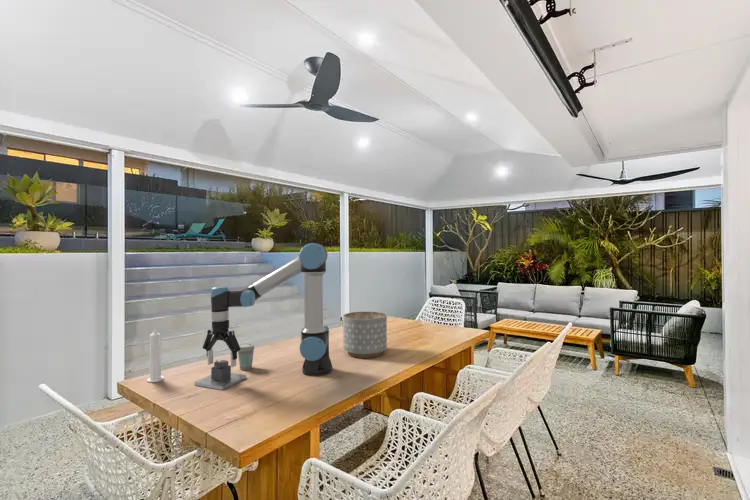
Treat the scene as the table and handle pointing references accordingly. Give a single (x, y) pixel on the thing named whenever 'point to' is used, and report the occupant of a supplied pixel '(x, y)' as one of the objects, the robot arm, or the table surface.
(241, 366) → the coffee cup
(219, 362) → the knob
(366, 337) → the planter
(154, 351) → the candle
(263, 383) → the table surface
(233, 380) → the grey square plate
